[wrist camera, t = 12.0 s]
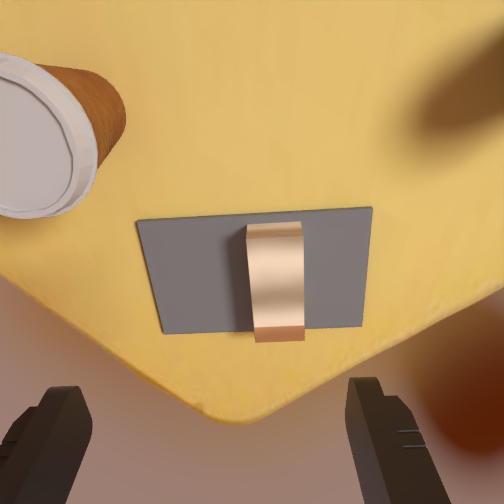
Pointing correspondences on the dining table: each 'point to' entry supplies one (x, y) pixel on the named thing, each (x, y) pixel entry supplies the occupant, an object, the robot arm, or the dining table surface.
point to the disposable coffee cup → (52, 135)
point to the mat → (237, 270)
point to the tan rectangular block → (277, 280)
